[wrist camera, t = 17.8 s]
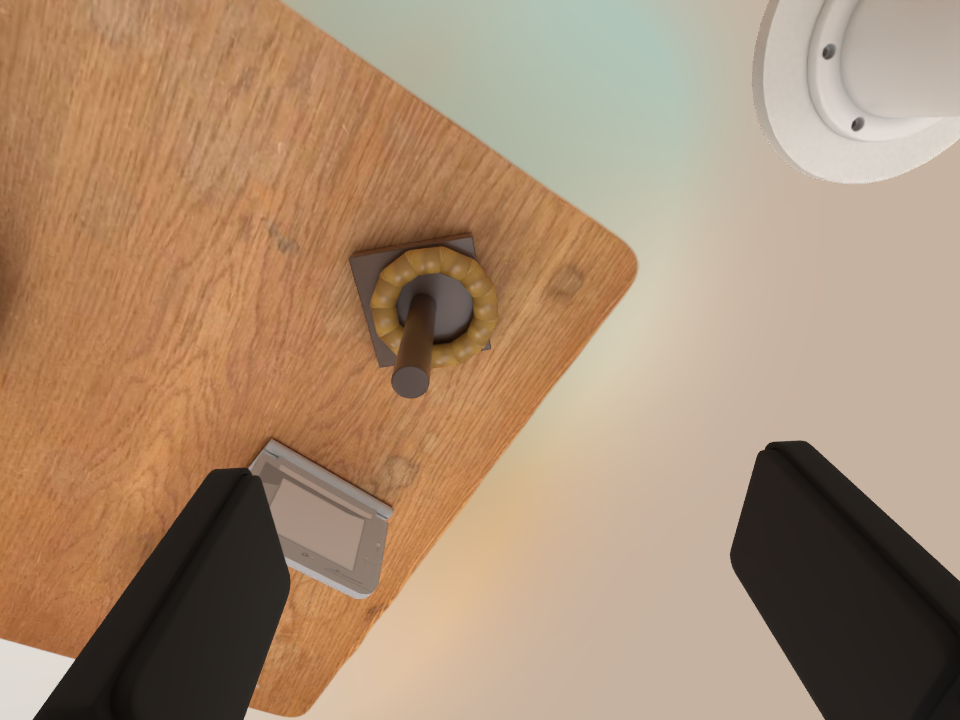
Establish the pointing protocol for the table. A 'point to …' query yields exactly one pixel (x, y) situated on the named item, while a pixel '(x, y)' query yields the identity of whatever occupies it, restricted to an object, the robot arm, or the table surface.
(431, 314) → the stand
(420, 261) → the ring
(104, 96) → the table surface
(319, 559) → the handheld gaming console
